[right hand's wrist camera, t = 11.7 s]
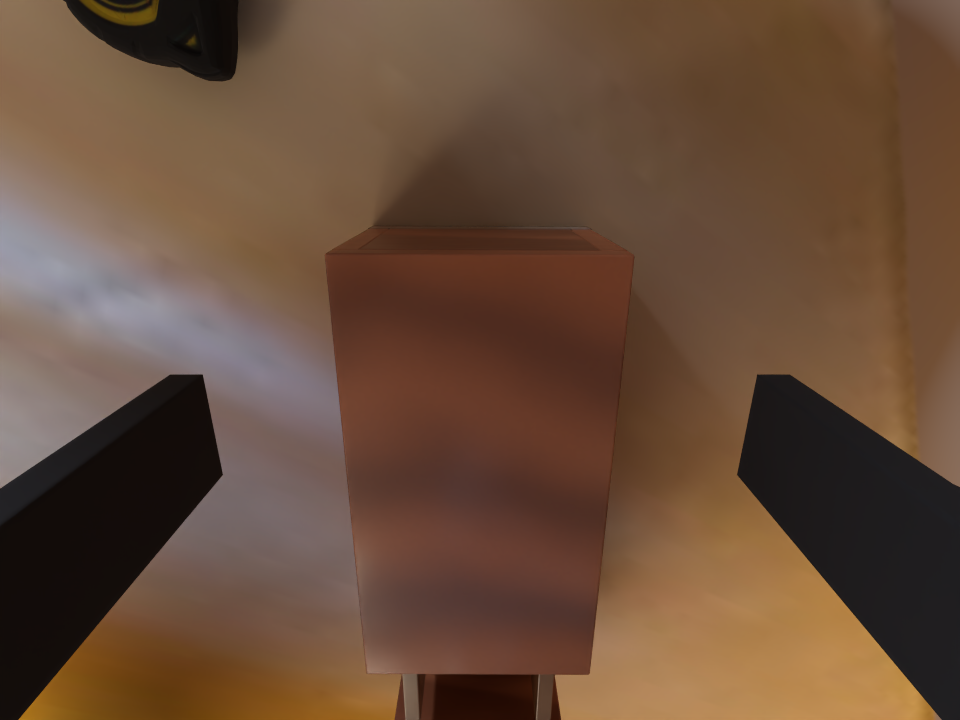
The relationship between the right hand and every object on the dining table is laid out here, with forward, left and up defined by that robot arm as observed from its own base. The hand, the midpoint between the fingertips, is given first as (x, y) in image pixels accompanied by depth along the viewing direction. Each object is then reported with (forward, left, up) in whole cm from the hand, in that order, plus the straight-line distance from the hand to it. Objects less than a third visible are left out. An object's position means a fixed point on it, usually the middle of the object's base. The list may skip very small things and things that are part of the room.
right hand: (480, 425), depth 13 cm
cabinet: (+6, +3, -16) cm, 17 cm away
